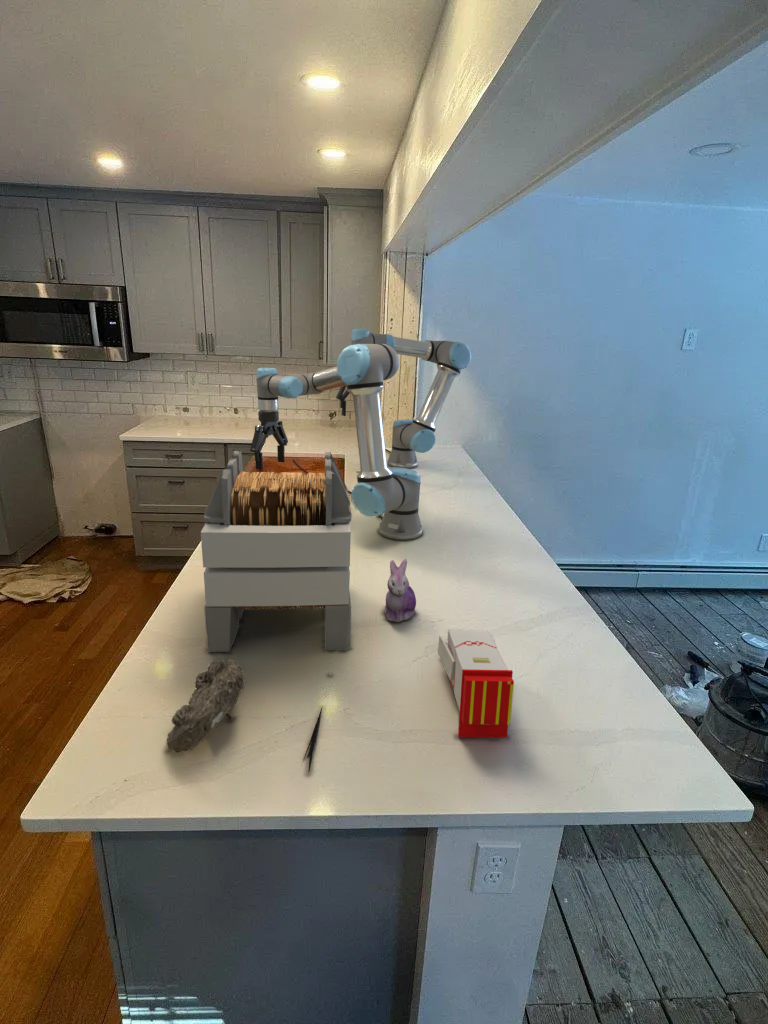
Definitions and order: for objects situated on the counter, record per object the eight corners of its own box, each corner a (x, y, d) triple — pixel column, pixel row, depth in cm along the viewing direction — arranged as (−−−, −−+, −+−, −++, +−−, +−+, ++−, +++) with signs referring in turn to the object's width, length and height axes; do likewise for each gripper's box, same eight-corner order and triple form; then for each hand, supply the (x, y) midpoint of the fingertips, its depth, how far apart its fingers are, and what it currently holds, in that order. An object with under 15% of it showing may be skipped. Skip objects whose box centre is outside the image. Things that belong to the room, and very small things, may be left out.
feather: (331, 679, 122) (336, 673, 122) (307, 777, 96) (313, 769, 95) (324, 675, 122) (329, 669, 121) (298, 772, 95) (304, 764, 95)
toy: (488, 613, 130) (523, 677, 101) (484, 667, 133) (517, 744, 104) (435, 612, 130) (455, 676, 101) (432, 666, 133) (451, 743, 103)
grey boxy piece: (227, 584, 158) (219, 441, 145) (344, 583, 162) (347, 443, 148) (205, 654, 127) (191, 480, 113) (351, 650, 130) (355, 481, 117)
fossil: (192, 660, 117) (244, 628, 112) (224, 691, 120) (276, 661, 115) (142, 746, 98) (202, 712, 93) (182, 779, 101) (242, 748, 96)
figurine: (392, 627, 141) (395, 572, 136) (374, 608, 149) (376, 556, 144) (425, 619, 145) (429, 566, 140) (405, 601, 154) (408, 550, 149)
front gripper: (280, 405, 224) (282, 457, 231) (238, 413, 203) (241, 471, 210) (295, 407, 221) (297, 460, 228) (255, 415, 200) (257, 474, 207)
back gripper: (335, 367, 237) (334, 417, 244) (389, 366, 248) (386, 415, 255) (329, 365, 243) (328, 414, 251) (381, 365, 254) (379, 412, 261)
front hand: (270, 465), depth 219 cm, fingers open, 13 cm apart
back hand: (358, 415), depth 253 cm, fingers open, 13 cm apart
